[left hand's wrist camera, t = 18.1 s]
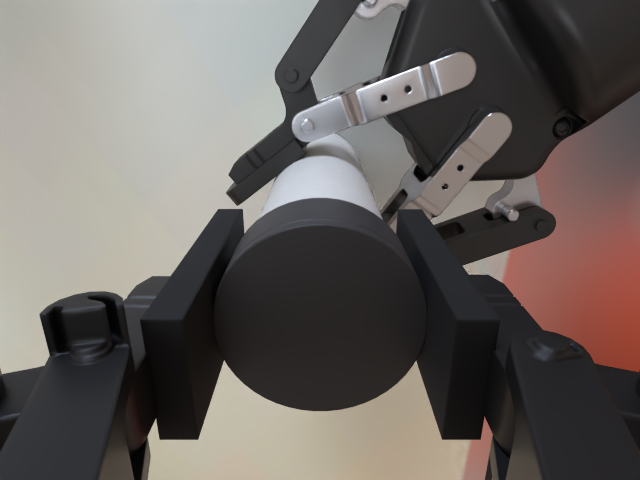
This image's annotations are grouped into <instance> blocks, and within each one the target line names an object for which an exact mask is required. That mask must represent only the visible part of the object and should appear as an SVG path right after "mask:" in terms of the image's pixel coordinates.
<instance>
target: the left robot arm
mask: <svg viewBox="0 0 640 480" xmlns="http://www.w3.org/2000/svg"><path fill="white" fill-rule="evenodd" d="M243 235H244V222H243V209H218V210H217V212H216V213H215V215H214V216H213V217H212V219H211V220H210V222H209V223H208V225H207V226H206V227H205V229H204V230H203V232H202V233H201V234H200V236H199V237H198V239H197V240H196V241H195V243H194V244H193V246H192V247H191V248H190V250H189V251H188V253H187V254H186V256H185V257H184V258H183V260H182V261H181V263H180V264H179V265H178V267H177V268H176V270H175V271H174V272H173V274H172V275H171V276H152V277H150V278H149V279H147V280H145V281H144V282H142V283H140V284H138V285H137V286H136V287H135V288H134V289H133V290H132V292H131V293H130V294H129V295H128V296H127V299H125V300H124V301H123V298H122V297H120V296H119V295H117V294H115V293H110V292H87V293H81V294H76V295H73V296H70V297H67V298H64V299H61V300H58V301H57V302H55V303H53V304H51V305H49V306H47V307H46V308H45V309H44V310H43V311H42V312H41V313H40V318H41V322H42V326H43V330H44V334H45V338H46V342H47V346H48V349H49V353H50V357H49V359H48V360H47V362H46V364H45V366H42V367H38V368H33V369H27V370H22V371H17V372H11V373H6V374H2V373H1V370H0V480H148V472H149V464H150V456H151V455H150V449H149V443H148V437H147V436H148V434H149V432H150V430H151V427H152V425H153V423H154V421H155V419H156V420H157V426H158V432H159V438H160V440H198V438H199V435H200V432H201V429H202V426H203V423H204V420H205V417H206V414H207V411H208V408H209V404H210V401H211V398H212V395H213V392H214V389H215V386H216V383H217V380H218V377H219V374H220V371H221V368H222V365H223V362H224V358H223V357H222V355H221V352H220V350H219V348H218V345H217V343H216V339H215V332H214V322H213V305H214V300H215V295H216V292H217V289H218V287H219V284H220V282H221V279H222V277H223V275H224V273H225V271H226V269H227V266H228V264H229V262H230V260H231V258H232V256H233V253H234V251H235V249H236V247H237V245H238V244H239V242H240V240H241V238H242V237H243ZM396 235H397V236H398V237H399V239H400V241H401V243H402V244H403V246H404V248H405V250H406V252H407V255H408V257H409V259H410V261H411V263H412V265H413V267H414V270H415V272H416V274H417V276H418V278H419V280H420V283H421V285H422V288H423V291H424V293H425V297H426V302H427V308H428V314H427V325H426V335H425V341H424V344H423V346H422V349H421V351H420V354H419V356H418V357H417V359H416V361H417V364H418V367H419V370H420V373H421V376H422V379H423V382H424V385H425V388H426V391H427V394H428V397H429V401H430V404H431V407H432V410H433V413H434V416H435V419H436V422H437V425H438V428H439V431H440V434H441V437H442V440H480V439H481V434H482V428H483V422H484V416H485V418H486V420H487V422H488V424H489V427H490V429H491V431H492V433H493V437H492V443H491V448H490V454H489V460H488V465H487V471H486V477H485V480H492V479H493V480H640V371H639V372H635V371H629V370H624V369H618V368H613V367H608V366H603V365H598V364H595V363H594V362H593V360H592V358H591V356H590V354H589V353H588V352H587V351H586V350H585V348H584V347H583V346H581V345H580V344H578V343H577V342H575V341H574V340H572V339H570V338H568V337H565V336H563V335H560V334H558V333H554V332H549V331H544V330H542V328H541V327H540V326H539V325H538V324H537V323H536V321H535V320H534V319H533V318H532V317H531V315H530V314H529V313H528V312H527V311H526V310H525V308H524V307H523V306H521V304H520V303H519V301H518V300H517V299H516V298H515V297H513V294H512V293H511V292H510V291H509V289H508V288H507V287H506V286H505V285H504V284H503V283H501V282H500V281H498V280H496V279H494V278H493V277H491V276H489V275H468V273H467V272H466V271H465V269H464V268H463V266H462V265H461V264H460V262H459V261H458V259H457V258H456V257H455V255H454V254H453V252H452V251H451V249H450V248H449V247H448V245H447V244H446V242H445V241H444V240H443V238H442V237H441V235H440V234H439V233H438V231H437V230H436V228H435V227H434V226H433V224H432V223H431V221H430V220H429V219H428V217H427V216H426V214H425V213H424V211H423V210H422V209H398V211H397V226H396Z"/></svg>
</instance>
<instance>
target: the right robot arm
mask: <svg viewBox="0 0 640 480" xmlns="http://www.w3.org/2000/svg"><path fill="white" fill-rule="evenodd" d="M390 7H394V8H397V9H399V10H401V11H402V12H401V15H400V18H399V21H398V24H397V27H396V30H395V33H394V36H393V40H392V43H391V46H390V49H389V52H388V55H387V58H386V61H385V64H384V68H383V71H382V74H381V75H379V76H377V77H374V78H372V79H369V80H367V81H364V82H361V83H359V84H356V85H354V86H351V87H349V88H346V89H344V90H342V91H340V92H338V93H335V94H333V95H330V96H328V97H325V98H322V99H320V100H317V97H316V94H315V91H314V88H313V84H312V81H311V78H310V77H311V76H312V74H313V73H314V71H315V70H316V68H317V67H318V65H319V64H320V63H321V61H322V60H323V58H324V57H325V55H326V54H327V52H328V51H329V49H330V48H331V46H332V45H333V43H334V42H335V40H336V39H337V37H338V36H339V34H340V33H341V31H342V30H343V28H344V27H345V25H346V24H347V22H348V21H349V19H350V18H351V16H352V15H353V14H354V15H355V16H357V17H358V18H359V19H362V20H371V19H373V18H375V17H376V16H377V15H378V14H380V12H381V11H382V10H384V9H386V8H390ZM275 80H276V83H277V85H278V86H279V88H280V91H281V94H282V97H283V100H284V103H285V106H286V117H285V120H284V122H283V123H282V124H280V125H279V126H278V127H277V128H275V129H274V130H273V131H272V132H271V133H269V134H268V135H267V136H266V137H264V138H263V139H262V140H261V141H259V142H258V143H257V144H256V145H255V146H253V147H252V148H251V149H250V150H248V151H247V152H246V153H245V154H243V155H242V156H241V157H240V158H239V159H238V160H237V161H236V162H235V164H234V165H233V167H232V169H231V171H230V173H229V176H230V177H231V178H232V180H233V181H234V183H233V184H232V185H231V187H230V188H229V189H228V191H227V192H226V194H227V195H228V196H229V197H230V198H231V199H232V201H233V202H234V203H235V204H236V205H237V206H238V205H239V204H241V203H242V202H244V201H245V200H246V199H248V198H249V197H250V196H251V195H253V194H254V193H255V192H257V191H258V190H259V189H260V188H262V187H263V186H264V185H266V184H267V183H268V182H269V181H271V180H272V179H273V178H275V177H276V176H277V175H278V174H280V173H281V172H282V171H283V170H285V169H286V168H287V167H288V166H290V165H291V164H293V163H294V162H295V161H296V160H298V159H299V158H300V157H301V156H303V155H304V154H305V153H306V149H307V144H309V143H310V142H312V141H315V140H317V139H320V138H323V137H325V136H328V135H331V134H333V133H336V132H338V131H341V130H344V129H346V128H349V127H352V126H356V125H361V124H365V123H368V122H370V121H373V120H376V119H378V118H381V117H384V118H385V120H386V121H387V122H388V123H389V124H390V125H391V126H392V127H393V128H394V129H396V130H397V131H398V132H399V133H401V134H402V136H403V138H404V141H405V144H406V147H407V150H408V152H409V154H410V155H411V157H412V158H413V160H414V161H415V162H414V164H413V165H412V166H411V167H410V169H409V170H408V171H407V173H406V174H405V175H404V177H403V178H402V180H401V182H400V185H399V187H398V189H397V190H396V192H395V193H394V194H393V195H392V197H391V198H390V199H389V200H388V202H387V203H386V204H385V206H384V207H383V208H382V209H381V211H380V214H381V216H382V219H383V220H384V221H385V222H386V223H387V224H388V225H389V226H390V227H391V228H392V230H393V231H394V232H395V234H396V226H397V211H398V209H422V210H423V211H424V213H425V214H426V216H427V217H428V219H429V220H430V219H432V218H433V217H437V216H438V215H440V214H441V213H442V212H443V211H444V210H445V209H446V207H447V206H448V205H449V204H450V203H451V201H452V200H453V199H454V198H455V197H456V195H457V194H458V193H459V192H460V191H461V189H462V188H463V187H464V186H465V185H466V184H467V182H468V181H485V180H505V183H504V185H503V187H502V188H501V189H500V190H499V191H497V192H496V193H494V194H492V195H491V196H490V197H489V198H488V199H487V201H486V205H485V207H484V208H481V209H478V210H475V211H472V212H470V213H467V214H464V215H461V216H458V217H455V218H453V219H450V220H447V221H444V222H441V223H438V224H435V225H433V226H434V227H435V228H436V230H437V231H438V233H439V234H440V235H441V237H442V238H443V240H444V241H445V242H446V244H447V245H448V247H449V248H450V249H451V251H452V252H453V254H454V255H455V257H456V258H457V259H458V261H459V262H460V264H461V265H462V266H463V265H465V264H468V263H471V262H474V261H477V260H480V259H483V258H486V257H489V256H492V255H495V254H498V253H501V252H504V251H507V250H510V249H513V248H516V247H519V246H522V245H525V244H528V243H531V242H534V241H537V240H540V239H543V238H545V237H547V236H549V235H550V234H551V233H552V232H553V231H554V229H555V226H556V220H555V218H554V216H553V215H552V214H551V213H549V212H548V211H546V210H545V209H544V208H543V206H542V203H541V198H540V193H539V189H538V184H537V179H536V175H535V172H537V171H538V170H539V169H540V168H541V167H542V166H543V164H544V163H545V161H546V159H547V158H548V156H549V154H550V153H551V152H552V150H553V149H554V148H555V147H556V146H557V145H558V144H559V143H560V142H561V141H562V140H564V139H565V138H567V137H568V136H570V135H572V134H574V133H576V132H578V131H580V130H582V129H583V128H585V127H587V126H589V125H590V124H592V123H593V122H595V121H596V120H598V119H599V118H601V117H602V116H604V115H605V114H606V113H608V112H609V111H611V110H612V109H614V108H615V107H617V106H618V105H620V104H621V103H623V102H624V101H626V100H627V99H628V98H630V97H631V96H633V95H634V94H636V93H637V92H639V91H640V0H319V2H318V3H317V5H316V6H315V8H314V9H313V11H312V13H311V14H310V16H309V17H308V19H307V20H306V22H305V23H304V25H303V27H302V28H301V30H300V31H299V33H298V34H297V36H296V38H295V39H294V41H293V42H292V44H291V45H290V47H289V48H288V50H287V52H286V53H285V55H284V56H283V58H282V59H281V61H280V63H279V64H278V66H277V68H276V70H275ZM443 184H445V185H444V186H442V185H443Z"/></svg>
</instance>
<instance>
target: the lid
mask: <svg viewBox="0 0 640 480" xmlns="http://www.w3.org/2000/svg"><path fill="white" fill-rule="evenodd" d="M427 314H428V308H427V302H426V297H425V293H424V291H423V288H422V285H421V283H420V280H419V278H418V276H417V274H416V272H415V270H414V267H413V265H412V263H411V261H410V259H409V257H408V255H407V252H406V250H405V248H404V246H403V244H402V243H401V241H400V239H399V237H398V236H397V235H396V234H395V232H394V231H393V230H392V228H391V227H390V226H389V225H388V224H387V223H386V222H385V221H384V220H382V219H381V218H380V217H378V216H377V215H376V214H374V213H373V212H371V211H369V210H367V209H365V208H364V207H361V206H359V205H356V204H354V203H351V202H348V201H344V200H340V199H332V198H308V199H301V200H297V201H293V202H289V203H286V204H284V205H282V206H279V207H277V208H275V209H273V210H271V211H270V212H268V213H266V214H265V215H264V216H262V217H261V218H260V219H258V220H257V221H256V222H255V223H254V224H253V225H252V226H251V227H250V228H249V229H248V230H247V231H246V233H245V234H244V235H243V237H242V238H241V240H240V242H239V244H238V245H237V247H236V249H235V251H234V253H233V256H232V258H231V260H230V262H229V264H228V266H227V269H226V271H225V273H224V275H223V277H222V279H221V282H220V284H219V287H218V289H217V292H216V295H215V300H214V305H213V322H214V332H215V339H216V343H217V345H218V348H219V350H220V352H221V355H222V357H223V358H224V360H225V362H226V363H227V365H228V367H229V368H230V369H231V370H232V372H233V373H234V374H235V375H236V376H237V377H238V378H239V379H240V380H241V381H242V382H243V383H244V384H245V385H246V386H248V387H249V388H250V389H252V390H253V391H254V392H256V393H257V394H259V395H261V396H263V397H264V398H266V399H268V400H271V401H273V402H275V403H278V404H281V405H284V406H287V407H291V408H295V409H300V410H309V411H332V410H340V409H345V408H350V407H354V406H357V405H360V404H363V403H365V402H368V401H370V400H372V399H374V398H376V397H378V396H380V395H381V394H383V393H385V392H386V391H388V390H389V389H390V388H392V387H393V386H394V385H395V384H397V383H398V382H399V381H400V380H401V379H402V378H403V377H404V376H405V375H406V374H407V372H408V371H409V370H410V368H411V367H412V366H413V364H414V363H415V361H416V359H417V357H418V356H419V354H420V351H421V349H422V346H423V344H424V341H425V335H426V325H427Z"/></svg>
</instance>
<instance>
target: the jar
mask: <svg viewBox="0 0 640 480" xmlns="http://www.w3.org/2000/svg"><path fill="white" fill-rule="evenodd" d="M308 198H332V199H340V200H344V201H348V202H351V203H354V204H356V205H359V206H361V207H364V208H365V209H367V210H369V211H371V212H373V213H374V214H376V215H377V216H378V217H380V218H381V219H382V216H381V214H380V211H379V209H378V206H377V204H376V202H375V199H374V197H373V194H372V192H371V189H370V187H369V184H368V182H367V179H366V177H365V174H364V172H363V170H362V167H361V165H360V162H359V160H358V157H357V155H356V153H355V151H354V149H353V148H352V146H351V145H350V144H349V143H348V142H347V141H346V140H345V139H343V138H342V137H340V136H338V135H336V134H334V133H333V134H331V135H328V136H325V137H323V138H320V139H317V140H315V141H312V142H310V143H309V144H307V149H306V153H305V154H304V155H303V156H301V157H300V158H299V159H298V160H296V161H295V162H294V163H293V164H291V165H290V166H288V167H287V168H286V169H285V170H283V171H282V172H281V173H280V174H278V175H277V176H276V178H275V180H274V183H273V185H272V188H271V190H270V193H269V195H268V198H267V200H266V203H265V205H264V208H263V210H262V213H261V215H260V218H261V217H262V216H264V215H265V214H266V213H268V212H270V211H271V210H273V209H275V208H277V207H279V206H282V205H284V204H286V203H289V202H293V201H297V200H301V199H308ZM260 218H259V219H260ZM382 220H383V219H382Z"/></svg>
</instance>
